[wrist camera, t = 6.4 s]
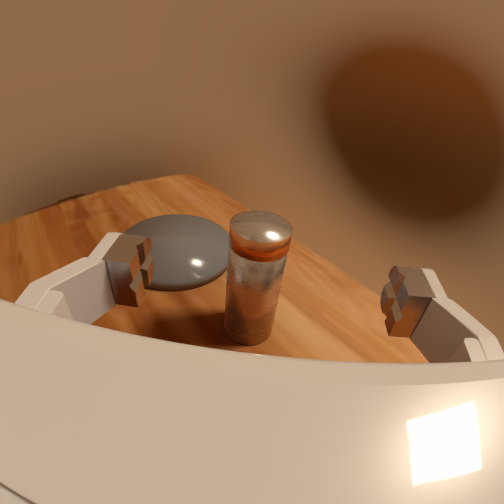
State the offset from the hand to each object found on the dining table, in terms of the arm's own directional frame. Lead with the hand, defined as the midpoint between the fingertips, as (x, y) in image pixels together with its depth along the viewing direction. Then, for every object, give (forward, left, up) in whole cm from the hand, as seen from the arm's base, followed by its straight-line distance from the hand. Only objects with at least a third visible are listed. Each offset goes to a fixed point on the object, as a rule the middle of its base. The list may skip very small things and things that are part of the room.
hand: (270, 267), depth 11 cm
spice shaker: (0, +12, -17) cm, 21 cm away
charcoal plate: (-10, +22, -17) cm, 30 cm away
